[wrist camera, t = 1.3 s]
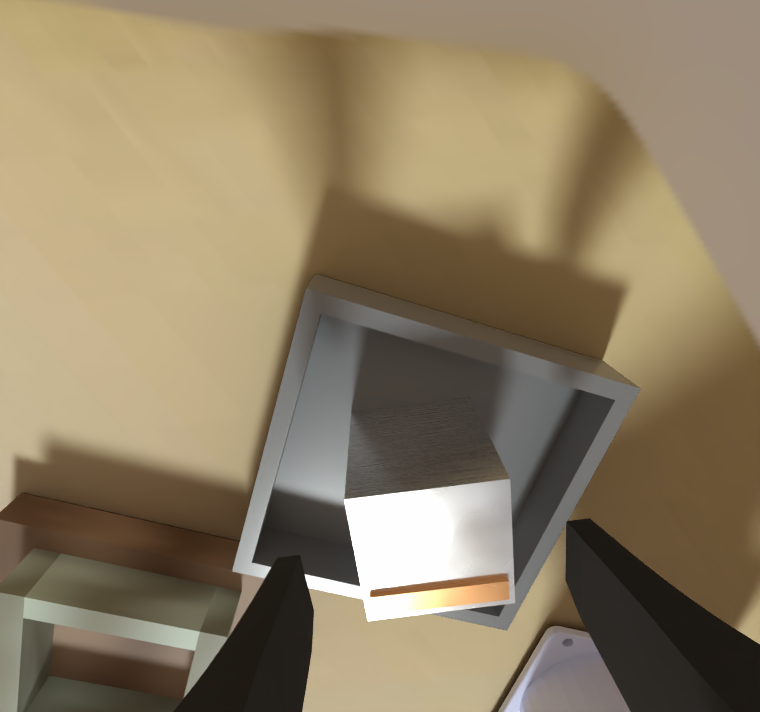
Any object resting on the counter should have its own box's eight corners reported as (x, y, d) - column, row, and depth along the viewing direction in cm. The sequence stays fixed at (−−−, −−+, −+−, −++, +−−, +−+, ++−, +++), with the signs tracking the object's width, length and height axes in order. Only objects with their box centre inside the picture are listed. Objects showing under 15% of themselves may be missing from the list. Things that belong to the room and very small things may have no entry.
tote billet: (470, 396, 17) (512, 482, 12) (477, 496, 18) (516, 607, 13) (351, 412, 17) (344, 503, 12) (367, 509, 18) (367, 625, 13)
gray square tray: (602, 360, 17) (640, 388, 15) (491, 579, 20) (507, 630, 18) (315, 273, 16) (305, 288, 13) (248, 524, 19) (232, 571, 17)
